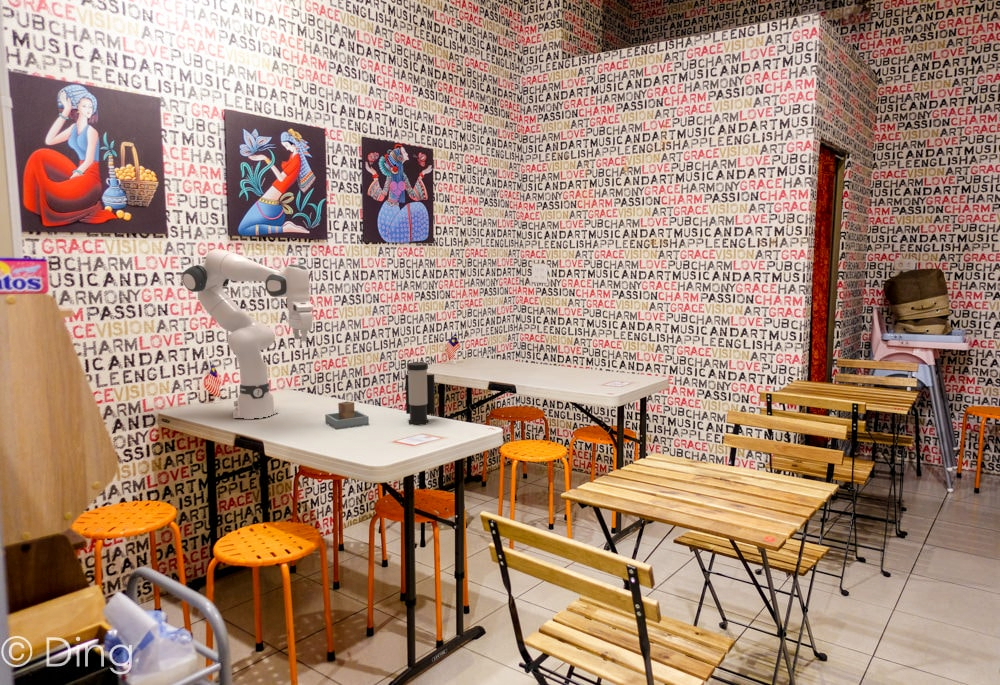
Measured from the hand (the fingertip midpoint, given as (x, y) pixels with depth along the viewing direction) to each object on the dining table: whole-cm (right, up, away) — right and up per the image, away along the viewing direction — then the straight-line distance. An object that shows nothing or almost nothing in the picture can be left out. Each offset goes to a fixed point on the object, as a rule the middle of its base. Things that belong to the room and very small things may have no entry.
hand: (300, 340), depth 275 cm
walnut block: (+17, -34, +7) cm, 38 cm away
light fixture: (+46, -34, +10) cm, 58 cm away
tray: (+17, -34, +8) cm, 39 cm away
